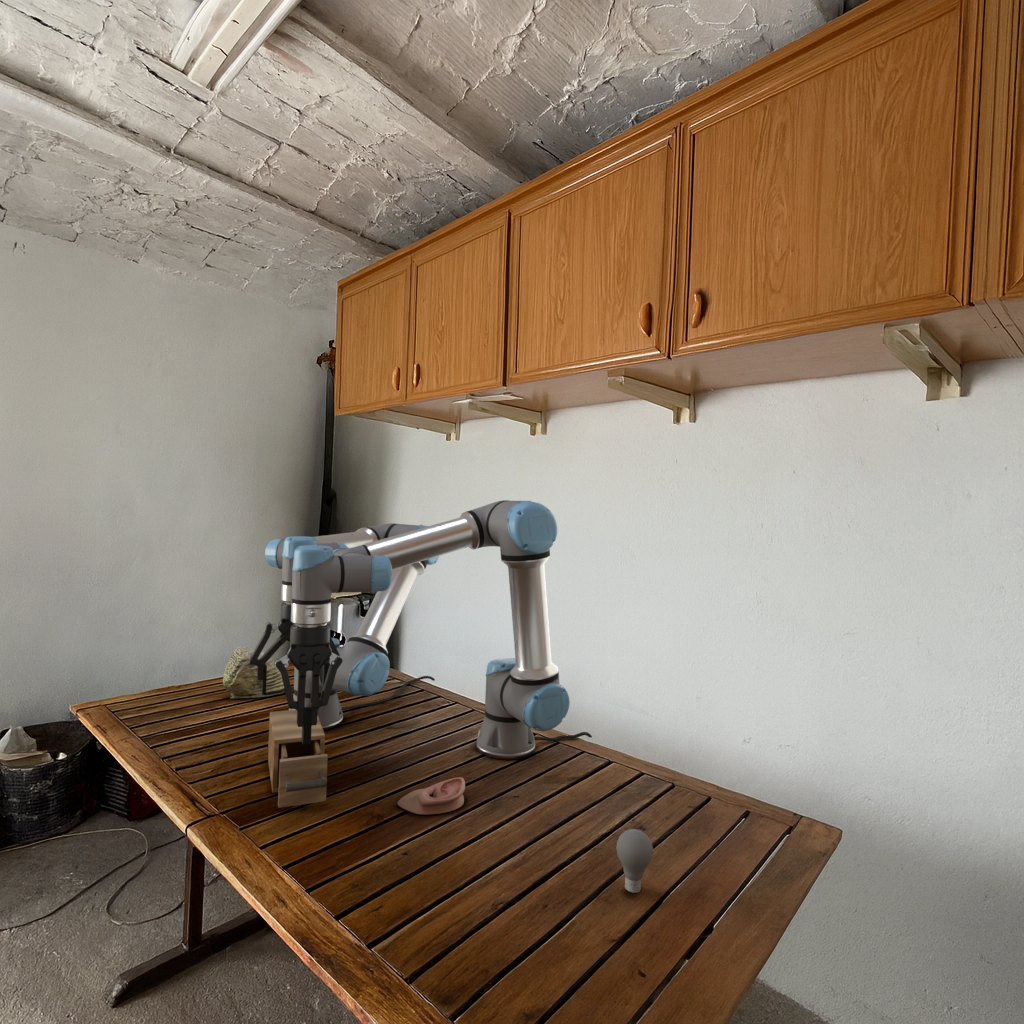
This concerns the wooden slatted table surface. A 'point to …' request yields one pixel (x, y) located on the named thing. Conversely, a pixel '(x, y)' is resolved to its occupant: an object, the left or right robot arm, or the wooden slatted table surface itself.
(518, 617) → the right robot arm
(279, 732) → the cabinet
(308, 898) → the wooden slatted table surface
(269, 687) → the fossil
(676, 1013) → the wooden slatted table surface
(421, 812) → the anatomical model
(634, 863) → the light bulb
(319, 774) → the drawer
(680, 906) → the wooden slatted table surface
